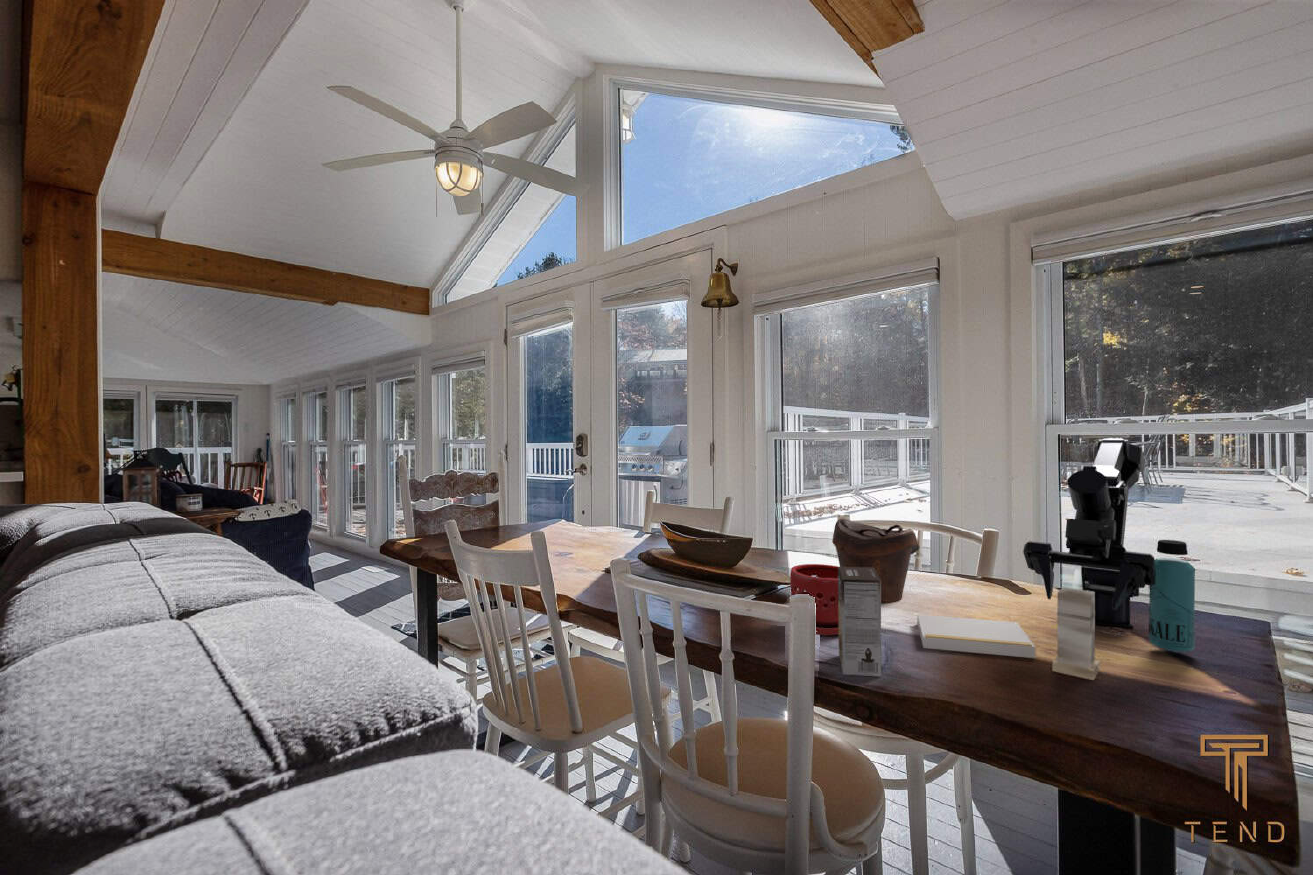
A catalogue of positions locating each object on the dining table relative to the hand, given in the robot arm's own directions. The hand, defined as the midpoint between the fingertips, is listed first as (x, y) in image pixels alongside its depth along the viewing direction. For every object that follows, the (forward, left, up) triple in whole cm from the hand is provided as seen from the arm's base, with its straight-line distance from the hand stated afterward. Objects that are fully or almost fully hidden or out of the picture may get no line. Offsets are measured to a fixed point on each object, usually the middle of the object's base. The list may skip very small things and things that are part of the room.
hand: (1080, 602), depth 105 cm
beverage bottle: (-17, -10, -11) cm, 22 cm away
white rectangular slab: (+15, -8, -10) cm, 20 cm away
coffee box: (+35, +11, -11) cm, 39 cm away
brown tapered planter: (+32, -35, -11) cm, 49 cm away
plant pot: (+42, -7, -11) cm, 44 cm away
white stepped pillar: (+1, +3, -10) cm, 11 cm away
